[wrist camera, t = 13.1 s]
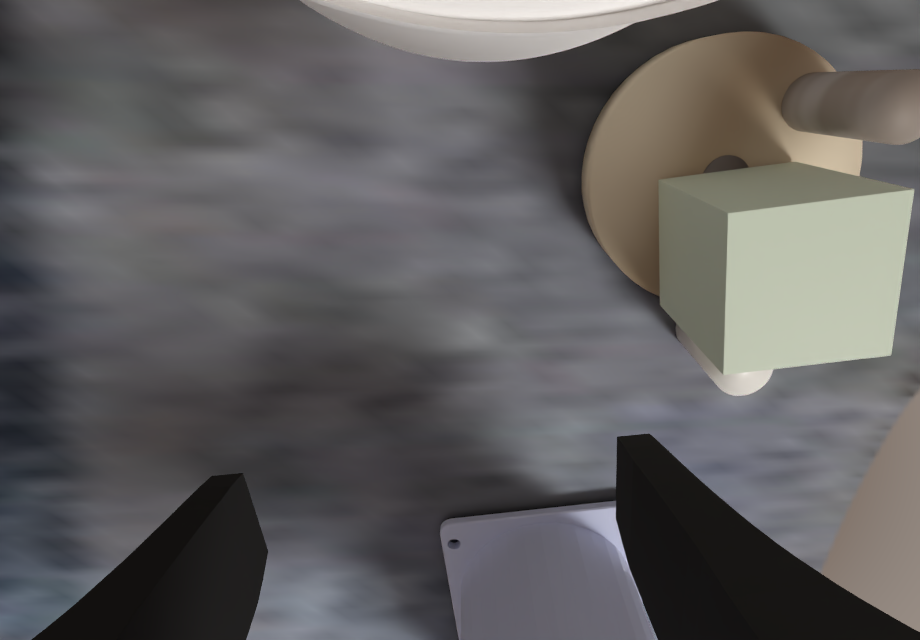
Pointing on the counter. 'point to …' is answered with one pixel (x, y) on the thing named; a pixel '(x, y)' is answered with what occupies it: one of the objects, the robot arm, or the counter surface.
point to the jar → (492, 24)
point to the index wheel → (729, 128)
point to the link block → (783, 264)
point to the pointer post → (727, 383)
